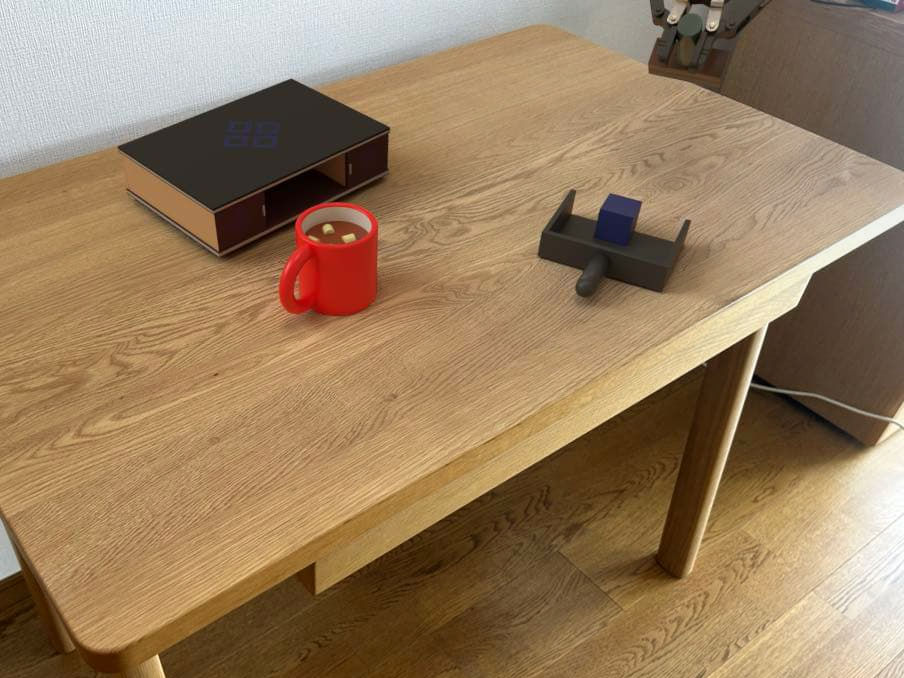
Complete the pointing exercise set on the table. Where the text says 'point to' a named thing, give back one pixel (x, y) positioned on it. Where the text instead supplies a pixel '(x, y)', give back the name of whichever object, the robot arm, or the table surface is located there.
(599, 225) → the navy blue toy block
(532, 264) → the table surface
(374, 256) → the mug
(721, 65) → the brush
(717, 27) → the robot arm
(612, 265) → the dustpan
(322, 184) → the low tv stand
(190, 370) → the table surface
